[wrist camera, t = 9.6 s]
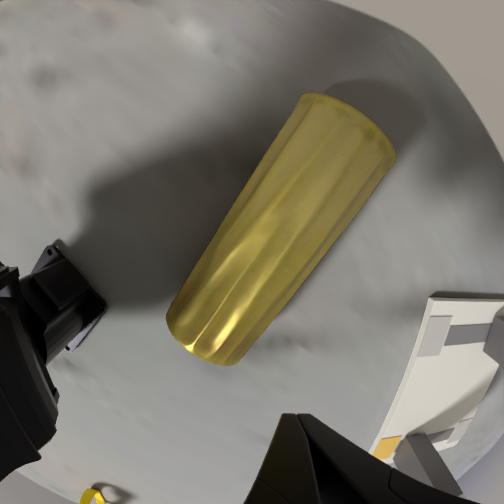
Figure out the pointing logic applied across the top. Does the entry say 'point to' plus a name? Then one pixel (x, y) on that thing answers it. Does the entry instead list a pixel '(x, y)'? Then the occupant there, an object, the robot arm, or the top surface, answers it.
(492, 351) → the switch
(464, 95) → the top surface
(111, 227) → the top surface
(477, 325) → the switch board
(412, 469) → the switch
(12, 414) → the robot arm
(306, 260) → the vase
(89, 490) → the yellow ring
